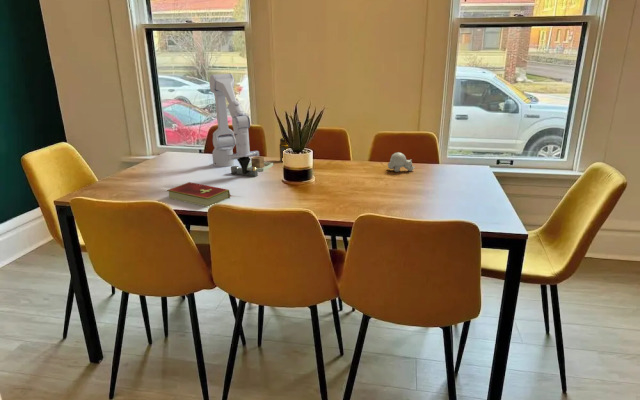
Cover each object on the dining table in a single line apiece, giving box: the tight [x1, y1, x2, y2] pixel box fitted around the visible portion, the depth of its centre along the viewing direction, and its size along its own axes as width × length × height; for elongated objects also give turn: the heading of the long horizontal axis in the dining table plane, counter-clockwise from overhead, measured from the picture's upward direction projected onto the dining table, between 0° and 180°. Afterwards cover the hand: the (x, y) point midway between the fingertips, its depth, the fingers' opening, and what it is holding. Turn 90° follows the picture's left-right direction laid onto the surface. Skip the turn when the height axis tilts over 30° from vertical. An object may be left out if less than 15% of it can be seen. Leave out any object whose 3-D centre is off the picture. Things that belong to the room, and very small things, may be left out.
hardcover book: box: [166, 181, 231, 207], centre depth 167 cm, size 12×21×4 cm, turn 60°
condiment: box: [279, 137, 288, 162], centre depth 216 cm, size 7×8×12 cm
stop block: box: [250, 155, 265, 168], centre depth 206 cm, size 4×4×5 cm
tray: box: [247, 161, 274, 172], centre depth 206 cm, size 11×11×2 cm
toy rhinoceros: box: [387, 151, 416, 173], centre depth 199 cm, size 7×12×8 cm, turn 81°
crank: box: [230, 165, 259, 178], centre depth 194 cm, size 13×4×4 cm, turn 64°
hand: (244, 173), depth 192 cm, fingers closed
